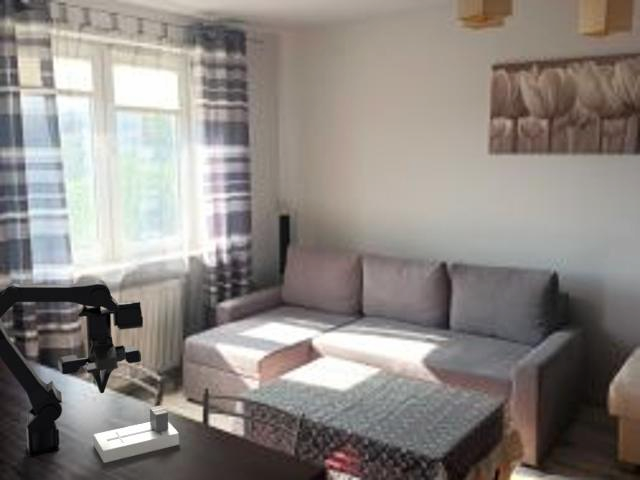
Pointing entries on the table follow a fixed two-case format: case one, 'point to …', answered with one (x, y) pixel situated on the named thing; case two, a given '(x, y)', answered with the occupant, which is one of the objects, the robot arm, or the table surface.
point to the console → (133, 441)
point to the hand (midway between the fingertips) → (101, 392)
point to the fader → (159, 418)
